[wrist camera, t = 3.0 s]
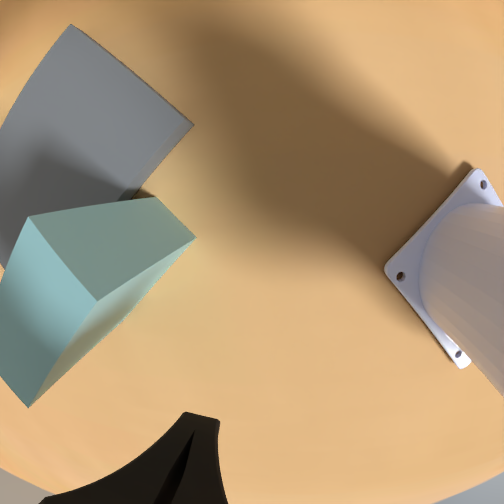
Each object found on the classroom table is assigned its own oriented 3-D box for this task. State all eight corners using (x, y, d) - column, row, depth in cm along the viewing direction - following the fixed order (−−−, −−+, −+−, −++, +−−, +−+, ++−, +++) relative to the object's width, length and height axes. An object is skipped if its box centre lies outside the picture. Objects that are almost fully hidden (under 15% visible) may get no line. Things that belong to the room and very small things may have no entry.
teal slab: (196, 237, 15) (97, 301, 7) (123, 320, 17) (28, 408, 8) (155, 196, 15) (28, 216, 6) (89, 284, 17) (-19, 350, 8)
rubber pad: (194, 124, 14) (184, 118, 13) (55, 311, 17) (42, 320, 16) (83, 31, 13) (70, 23, 12) (-19, 205, 17) (-32, 207, 15)
